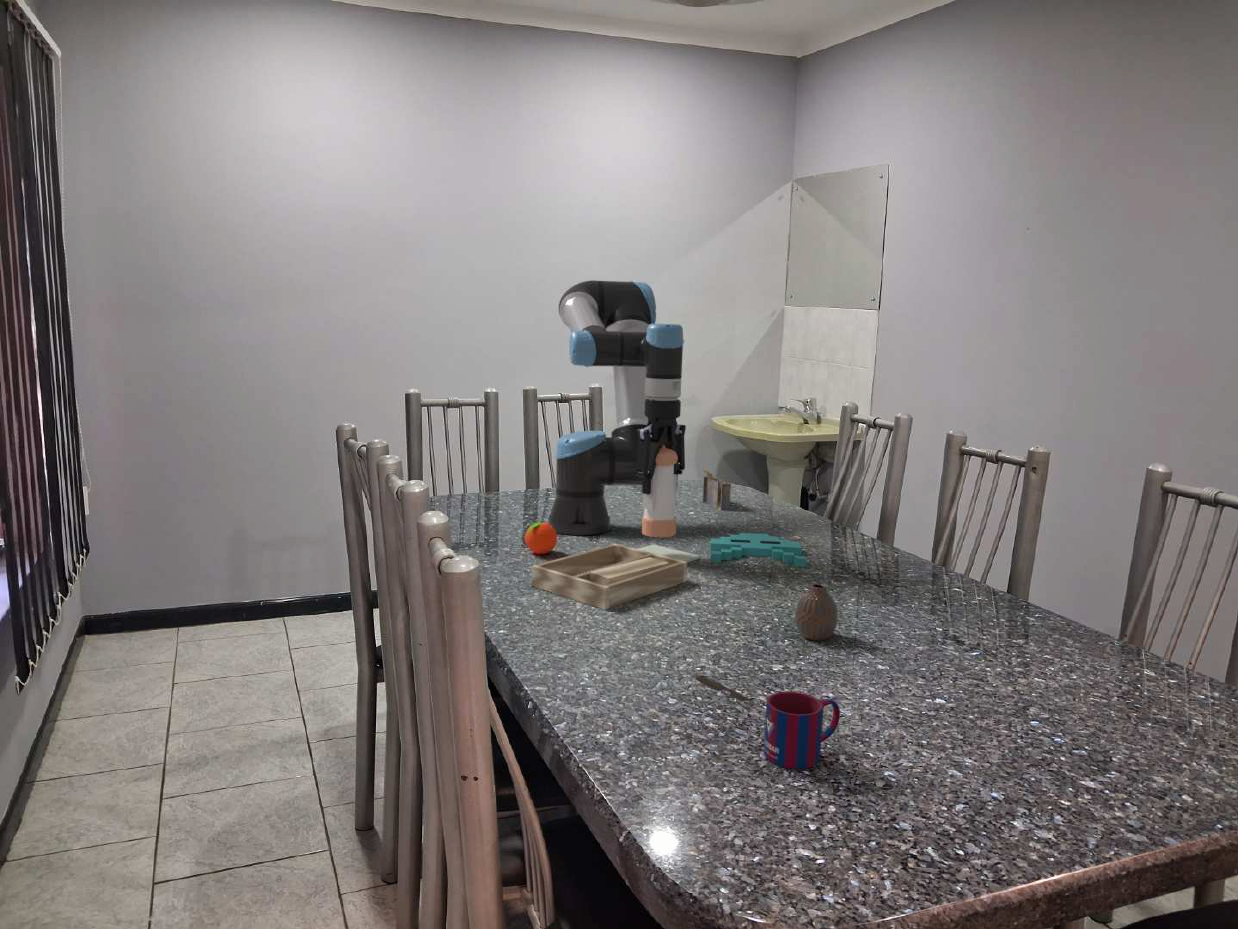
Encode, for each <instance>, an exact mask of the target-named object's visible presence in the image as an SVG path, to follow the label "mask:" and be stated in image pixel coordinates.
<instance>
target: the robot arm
mask: <svg viewBox="0 0 1238 929" xmlns="http://www.w3.org/2000/svg"><path fill="white" fill-rule="evenodd" d="M656 303H657V302H656V298H655V294H654V292H653V290H652V287H651V286H650V285H649V284H648V283H646V282H641V281H639V282H638V281H636V280H635V281H634V280H629V281H619V280H618V281H615V280H614V281H613V280H585V281H582V282H581V281H580V282H578V283H577V284H574V285H573V286H571V287H569V289H567V290H566V291H565V292H564V293H563V295H562V296H561V297H560V300H559V304H558V315H559V317H560V319H561V322H562V323H563V324H564V325H565V326H566V327H567V328H569V331H570V332H571V333H570V336H569V341H568V342H569V345H568V346H569V347H568V348H569V350H568V352H569V354H568V355H569V361H570V363H571V364H572V365H573V366H578V367H581V366H582V367H586V368H588V367H613V368H612V370H613V384H614V400H615V401H614V402H615V414H616V415H615V416H616V425H615V427H614V428H613V429H612V431H611V432H610V434H611V436H609V437H607V434H606V433H605V431H604V430H585V431H577V432H571V433H567V434H563V436H561V437H560V438H559V439H558V440H557V442H556V452H555V459H556V460H555V461H556V462H555V464H556V466H555V467H556V471H555V472H556V473H555V474H556V475H555V498H554V502H553V504H552V508H551V512H550V515H549V516H548V520H547V523H548V524H550V525H551V526H552V527H553V528H554V529H555V531H556V533H557V534H562V535H569V534H570V535H571V536H592V535H599V534H603V533H607V532H609V531H610V530H611V522H612V520H611V517H610V516H609V512H608V508H607V504H606V500H605V487H606V486H641V493H642V508H643V509H644V508H645V509H650V510H655V487H656V479H653V475H654V471H655V467H656V457H657V454H658V453H659V451H660V448H662V446H663V445H664V446H665V448H667V449H671V450H673V451H675V452H676V454H677V457H678V460H677V463H676V464H674V475H673V487H674V495H675V506H676V505H677V489H678V482H679V480H678V479H679V475H682V474H683V473H684V471H685V469H686V454H685V453H686V452H685V448H686V447H685V435H686V434H685V433H686V430H687V428H686V427H687V426H686V425H685V424H679V423H678V422H677V419H678V418H680V417H681V406H682V401H681V400H680V399H679V398H680V397H681V396H682V374H683V372H682V371H683V350H684V342H685V340H684V331H683V330H684V329H683V326H682V325H681V324H676V323H674V324H673V323H656V321H657V320H656V319H657V311H656V310H657V305H656ZM648 471H649V473H648Z"/></svg>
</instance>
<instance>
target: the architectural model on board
mask: <svg viewBox="0 0 1238 929" xmlns="http://www.w3.org/2000/svg"><path fill="white" fill-rule="evenodd" d="M702 471H703V473H704V474H706V476H703V480H702V481H703V483H702V484H703V487H702V488H703V489H702V502H703V503H705V504H706V503H707V504H706V505H708V504H709V506H710V505H711V506H710V507H712V508H715V509H716V510H718V509H720V510H727V511H730V506H731V486H732V484H731V483H729V482H727V481H724V480H722V479H720V478H718V477H715V476H714V475H713V473H711V472H710V471H707V470H705V469H703V470H702ZM720 510H719V511H720Z"/></svg>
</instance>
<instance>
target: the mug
mask: <svg viewBox="0 0 1238 929" xmlns="http://www.w3.org/2000/svg"><path fill="white" fill-rule="evenodd" d="M828 705H831V706H832V709H833V712H832V713H833V714H832V718H831V722H830V724H829V726H828V728H826V729H825V730H824V732H823V719H824V708H826V706H828ZM765 711H766V712H765V724H764V725H765V726H764V729H765V730H764V741H763V742H764V745H763V754H764V756H765V758H766V759H767V761H769V762H770V763H773V764H774V765H776V766H778V767H781V768H785V769H791V770H804V769H805V770H807V769H810V768H813V767H814V766H815V767H816V765H818V763H819V762H820V761H821V753H822V752H821V751H822V750H821V748H822V743H823V742H825V741H826V740H828V739H830V737H831V736H832V735H833V734H834V732H835V731H836V730H837V728H838V725H839V722H840V717H841V710H840V706H839V704H838V703H837V702H836V701H835V700H834V699H831V698H826V699H825V698H824V699H818V698H817V697H815V696H812V695H810V694H807V693H803V692H798V691H779V692H775V693H773V694H770V695H769V696H768V697H767V698H766V710H765Z"/></svg>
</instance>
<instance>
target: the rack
mask: <svg viewBox="0 0 1238 929" xmlns="http://www.w3.org/2000/svg"><path fill="white" fill-rule="evenodd" d="M638 549H639V548H634V547H630V546H626V545H621V544H617V543H612V544H609V545H605V546H600V547H596V548H594V549H590V550H586V551H584V552H583V551H582V552H579V553H576V554H572V555H571V554H570V555H568V556H563V557H560V558H556V559H553V560H549V561H546V562H541V563H539V564H535V565H531V567H530V568H531V570H530V571H531V573H530V575H531V577H530V578H531V582H530V583H531V585H532V586H534V587H533V588H535V587H537V588H536V589H538V588H539V589H538V590H541V589H544V590H547V591H549V592H548V593H551V592H552V593H551V594H554V593H555V594H554V595H557V596H560V595H562V596H561V597H563V596H565V597H564V598H566V597H567V599H570V600H573V601H576V602H579V601H580V602H579V603H582V602H583V604H585V603H586V604H585V605H589V606H591V607H595V608H598V607H599V608H598V609H601V610H604V611H605V610H608V609H612V608H614V607H617V606H620V605H624V604H627V603H628V602H631V601H634V600H637V599H640V598H643V597H646V596H649V595H651V594H655V593H658V592H660V591H663V590H666V589H668V588H671V587H675V586H677V585H679V584H680V585H681V584H683V583H686V582H687V573H688V570H687V569H688V562H686V561H682V560H678V559H674V558H670V557H666V556H662V555H658V554H654V553H650V552H646V551H642V550H638ZM649 557H651V558H655V559H658V560H661V561H664V562H668V563H669V565H668V566H665V567H662V568H659V569H656V570H653V571H650V572H646V573H643V574H640V575H637V576H634V577H631V578H628V579H625V580H621V581H618V582H615V583H612V584H609V585H606V586H604V585H601V584H598V583H594V582H591V581H590V572H592V571H596V570H600V569H604V568H608V567H612V566H617V565H621V564H625V563H629V562H633V561H637V560H641V559H645V558H649ZM612 564H613V565H612ZM605 566H606V567H605ZM590 570H592V571H590ZM587 571H589V572H587ZM584 572H585V573H584ZM581 573H582V574H581ZM578 574H579V575H578ZM532 586H531V587H532ZM662 589H663V590H662ZM544 590H543V591H544ZM547 591H546V592H547Z"/></svg>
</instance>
